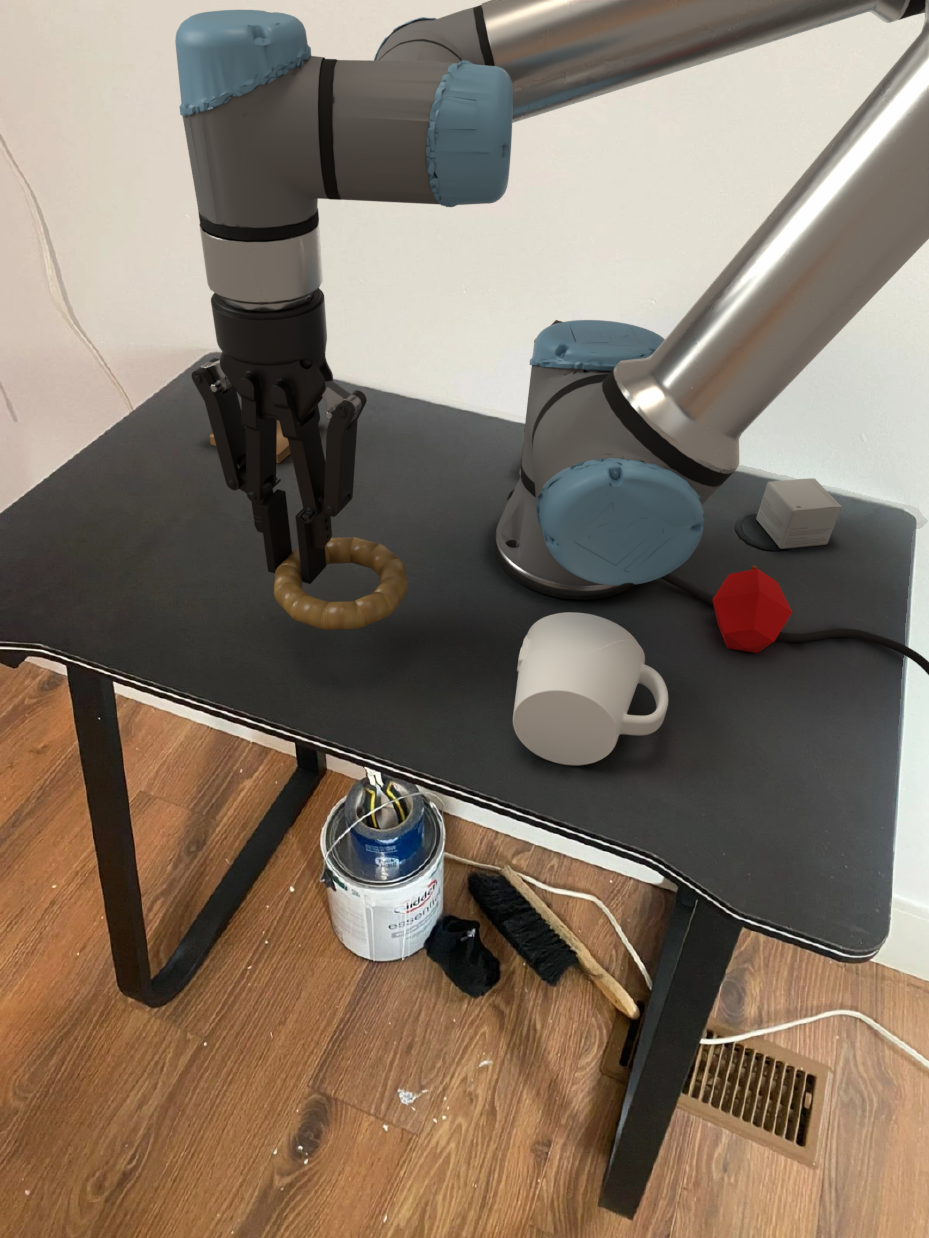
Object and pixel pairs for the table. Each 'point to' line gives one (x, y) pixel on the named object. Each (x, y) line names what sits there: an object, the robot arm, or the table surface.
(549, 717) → the mug
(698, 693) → the table surface
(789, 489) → the small box
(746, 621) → the apple
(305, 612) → the ring
